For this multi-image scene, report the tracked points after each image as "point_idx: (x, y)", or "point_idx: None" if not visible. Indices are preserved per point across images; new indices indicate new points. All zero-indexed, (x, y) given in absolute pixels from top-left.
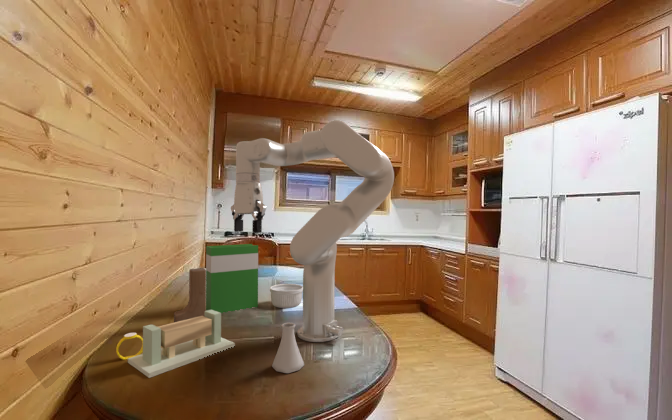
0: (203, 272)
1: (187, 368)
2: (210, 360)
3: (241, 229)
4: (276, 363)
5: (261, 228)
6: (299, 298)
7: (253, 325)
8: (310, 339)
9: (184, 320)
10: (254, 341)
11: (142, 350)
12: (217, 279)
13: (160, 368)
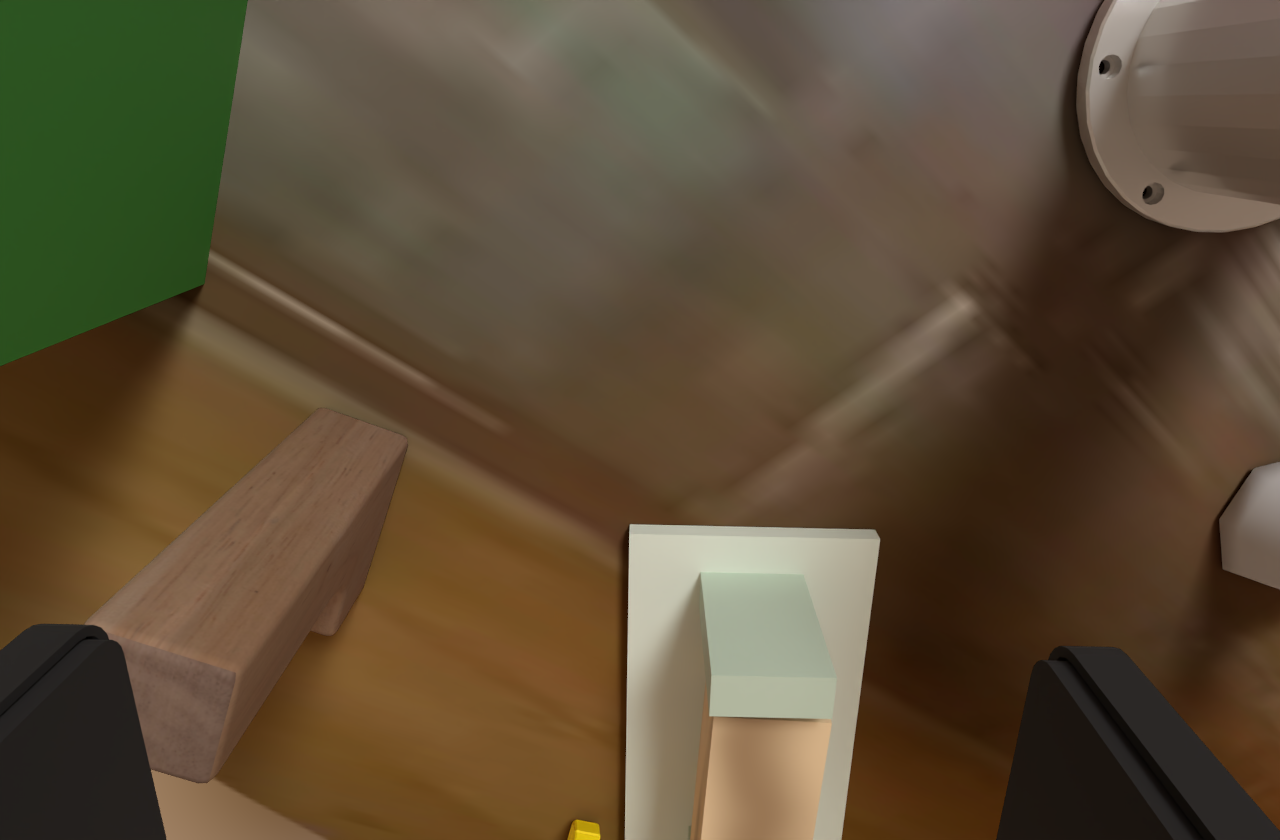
0: (247, 677)
1: (885, 765)
2: (904, 678)
3: (100, 725)
4: (1276, 587)
5: (1179, 725)
6: None
7: (680, 236)
8: (1259, 222)
9: (710, 811)
10: (913, 420)
11: (599, 830)
12: (11, 294)
13: None
